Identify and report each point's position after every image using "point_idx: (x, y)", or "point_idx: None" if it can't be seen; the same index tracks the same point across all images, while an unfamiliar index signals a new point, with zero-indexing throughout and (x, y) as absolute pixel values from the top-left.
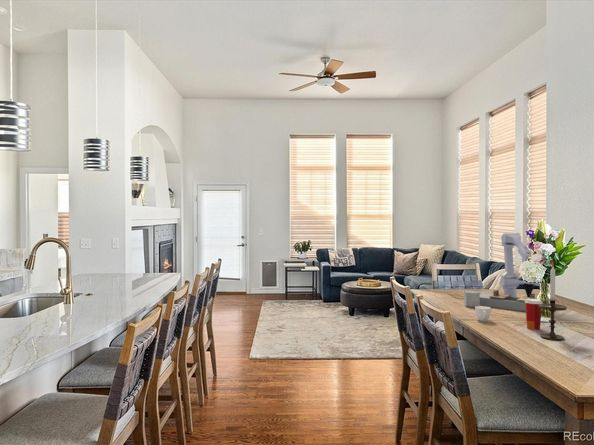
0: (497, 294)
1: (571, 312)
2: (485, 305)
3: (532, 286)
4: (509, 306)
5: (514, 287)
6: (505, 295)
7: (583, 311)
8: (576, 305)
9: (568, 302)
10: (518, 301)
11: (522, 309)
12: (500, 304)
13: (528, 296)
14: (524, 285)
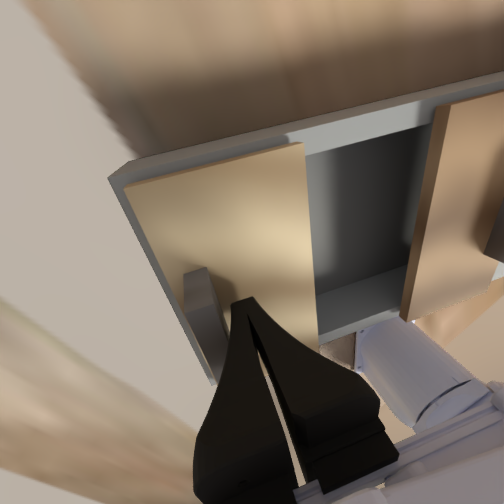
0: (500, 228)
1: (7, 393)
2: (492, 73)
3: (193, 475)
4: (329, 115)
5: (429, 421)
6: (437, 270)
7: (15, 454)
8: (157, 487)
9: None
10: None
11: (214, 142)
12: (408, 96)
13: (242, 305)
14: (364, 423)
